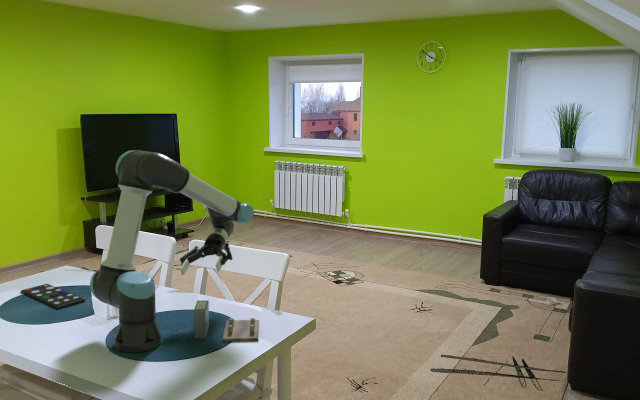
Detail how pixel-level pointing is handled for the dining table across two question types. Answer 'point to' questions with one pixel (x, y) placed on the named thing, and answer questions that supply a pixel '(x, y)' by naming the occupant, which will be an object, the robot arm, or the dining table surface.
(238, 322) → the pin tray
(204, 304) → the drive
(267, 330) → the dining table surface
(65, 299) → the remote control
